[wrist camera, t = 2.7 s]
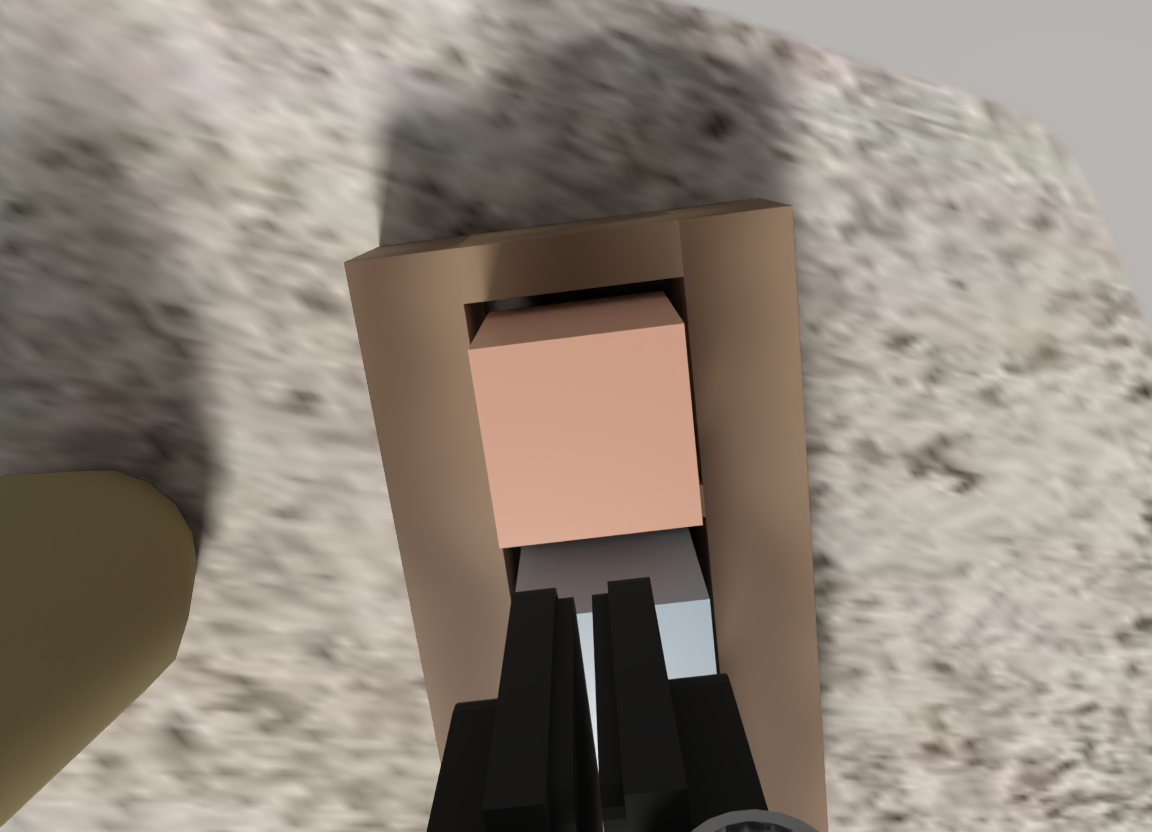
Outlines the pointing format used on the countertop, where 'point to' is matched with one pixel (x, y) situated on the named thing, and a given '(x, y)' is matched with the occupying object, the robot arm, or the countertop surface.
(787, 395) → the wooden compartment tray
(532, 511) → the peach cube
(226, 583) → the countertop surface
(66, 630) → the squeeze bottle
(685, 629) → the key slate
